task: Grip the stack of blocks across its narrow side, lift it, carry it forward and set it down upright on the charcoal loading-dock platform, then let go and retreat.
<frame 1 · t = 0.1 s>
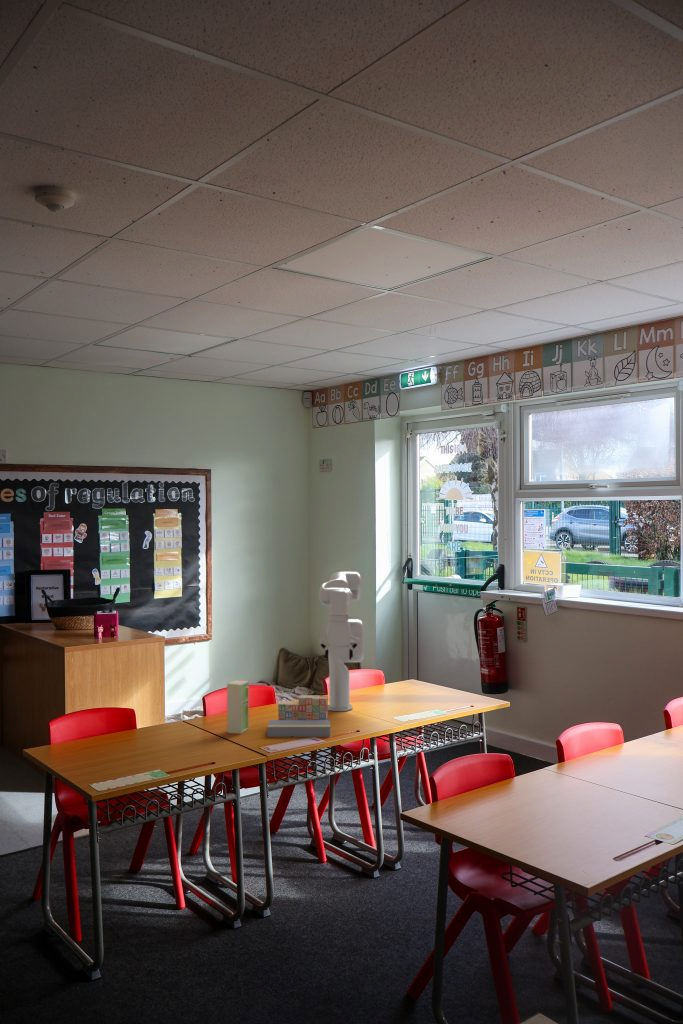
hand: (338, 659, 362), 31 cm above the table, tool pointing down, fingers open, 9 cm apart
stack of blocks: (303, 724, 378), on the table
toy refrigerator: (238, 731, 365), on the table
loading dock: (299, 732, 362), on the table
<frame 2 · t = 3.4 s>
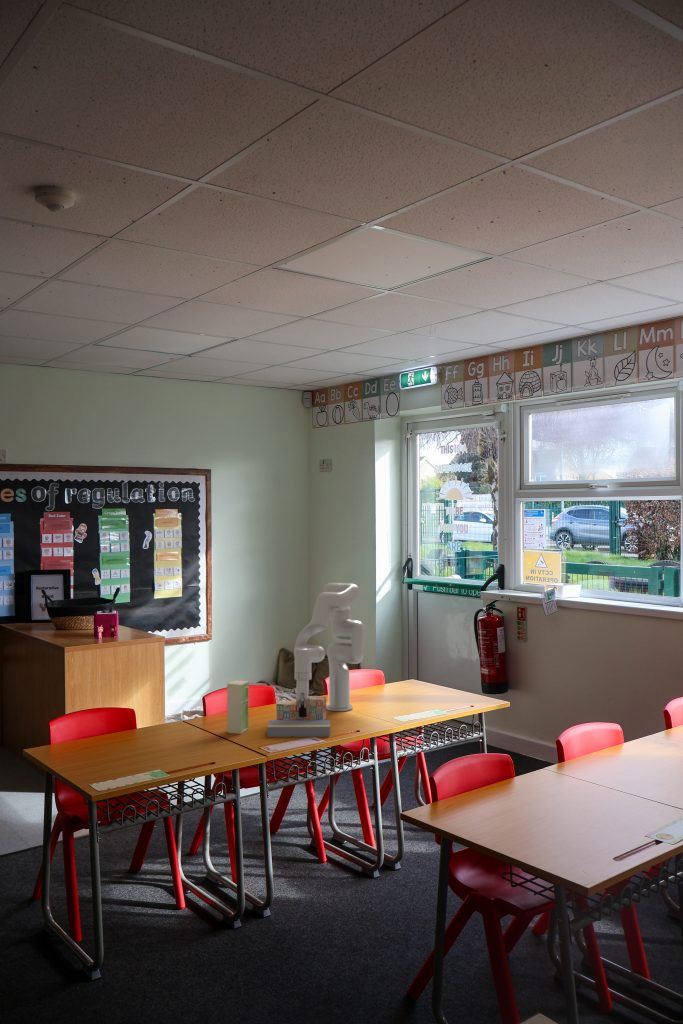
hand: (302, 714, 378), 4 cm above the table, tool pointing down, fingers open, 9 cm apart
stack of blocks: (301, 725, 377), on the table, touching gripper
everything else where it was.
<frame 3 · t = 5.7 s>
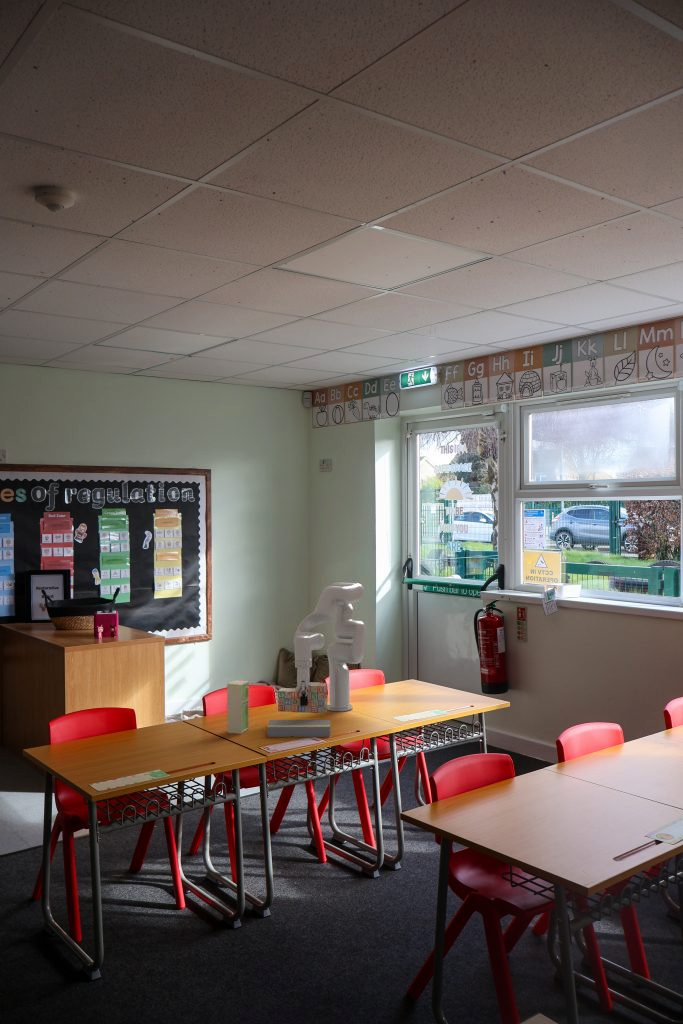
hand: (304, 702, 379), 9 cm above the table, tool pointing down, fingers closed on stack of blocks, 7 cm apart
stack of blocks: (303, 711, 379), point 5 cm above the table, touching gripper
everything else where it was.
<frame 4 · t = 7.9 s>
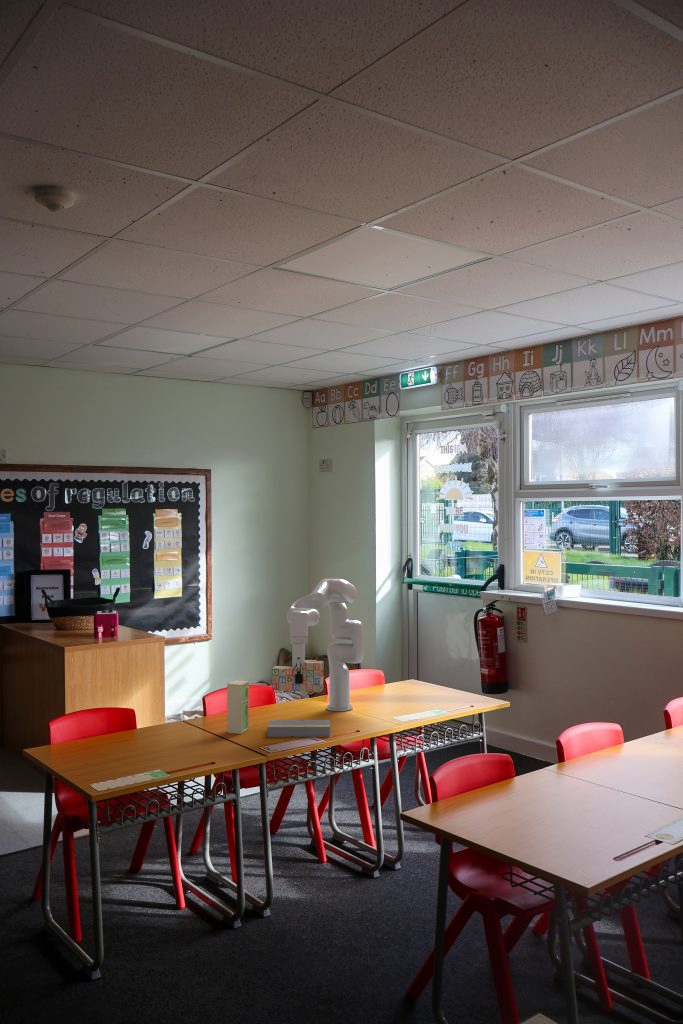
hand: (299, 681, 362), 22 cm above the table, tool pointing down, fingers closed on stack of blocks, 7 cm apart
stack of blocks: (297, 690, 362), point 18 cm above the table, touching gripper
everything else where it was.
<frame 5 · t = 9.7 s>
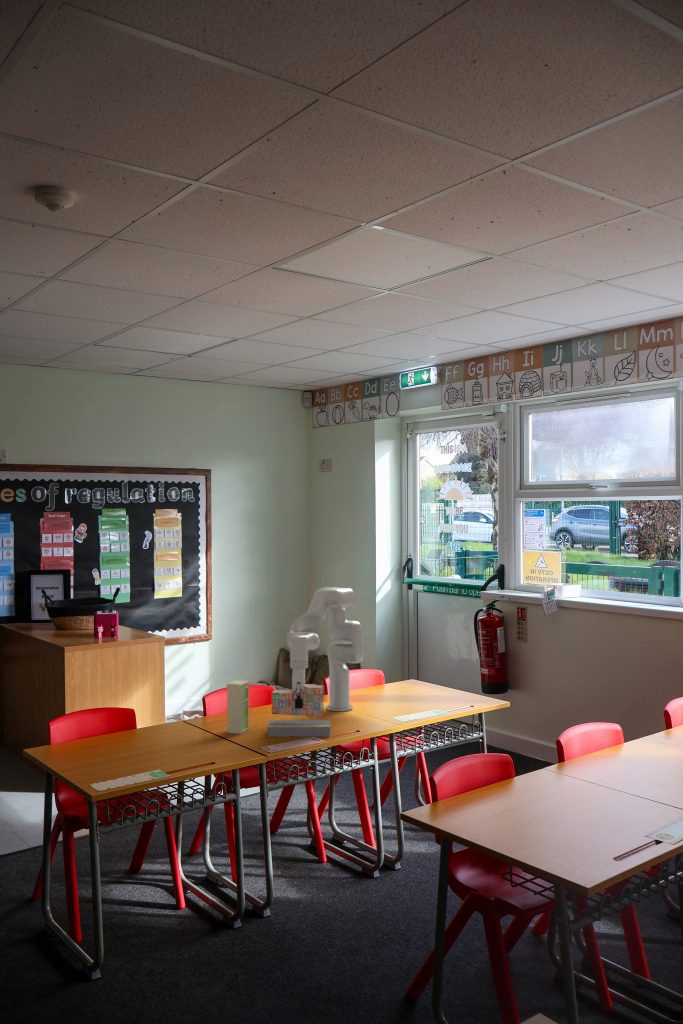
hand: (299, 705, 362), 11 cm above the table, tool pointing down, fingers closed on stack of blocks, 7 cm apart
stack of blocks: (297, 714, 362), point 8 cm above the table, touching gripper
everything else where it was.
when the fingers open (9 cm above the table, at t = 11.3 s): stack of blocks stays where it is, resting on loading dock.
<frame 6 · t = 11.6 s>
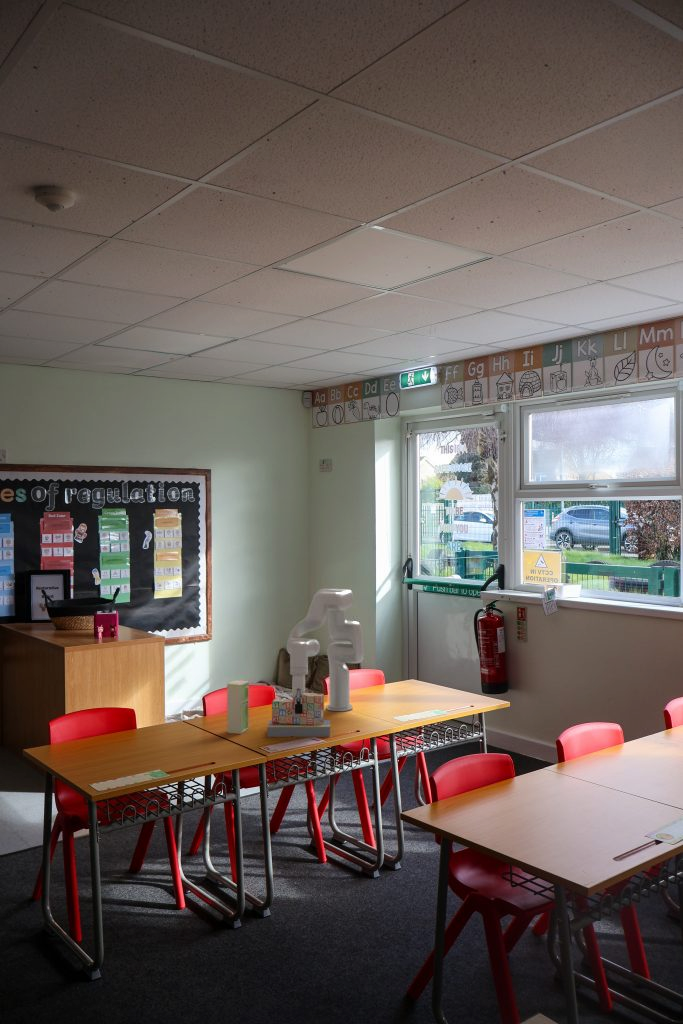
hand: (299, 711, 362), 9 cm above the table, tool pointing down, fingers open, 9 cm apart
stack of blocks: (297, 723, 362), point 4 cm above the table, touching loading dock
everything else where it was.
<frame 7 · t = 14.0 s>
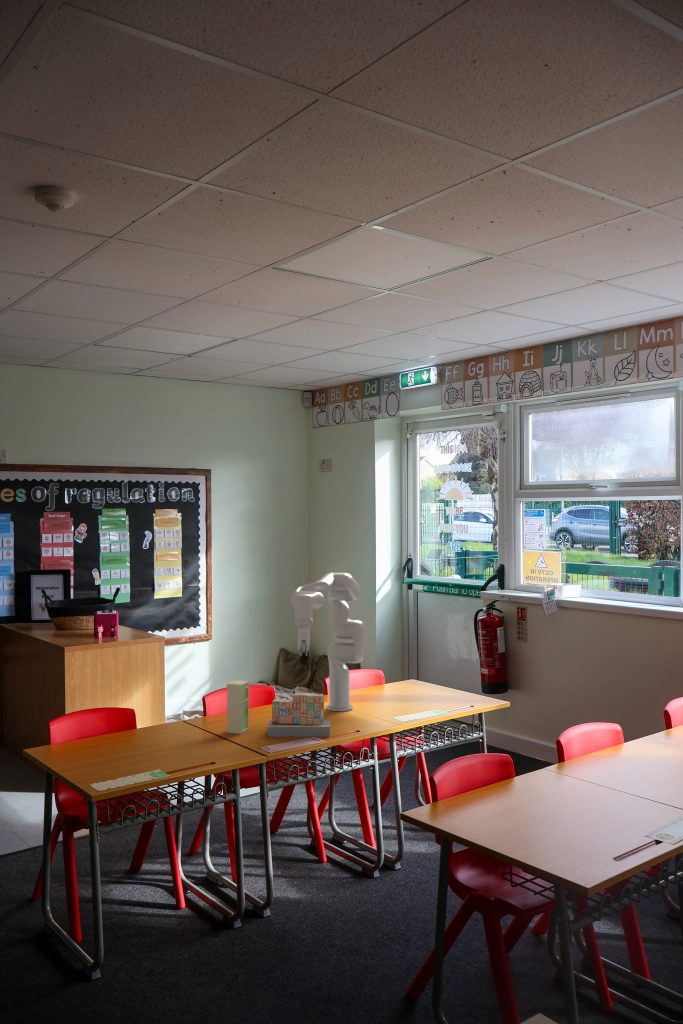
hand: (304, 662, 366), 29 cm above the table, tool pointing down, fingers open, 9 cm apart
nothing on the table moved.
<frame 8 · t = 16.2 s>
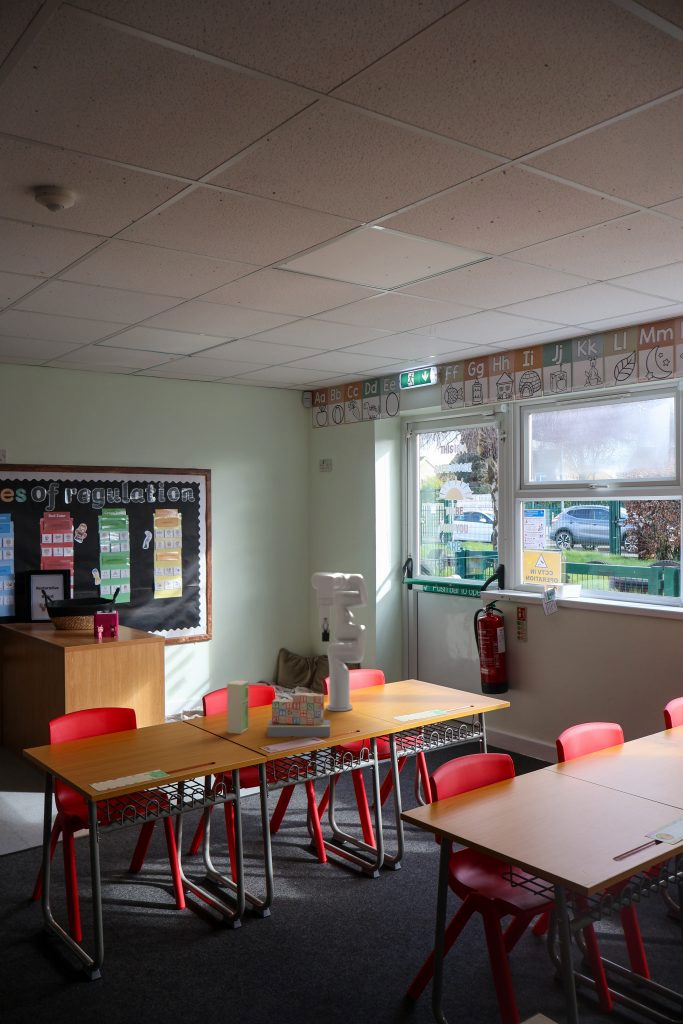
hand: (325, 639, 383), 36 cm above the table, tool pointing down, fingers open, 9 cm apart
nothing on the table moved.
at the end: stack of blocks inside the target area (0.6 cm from its centre), point 4.0 cm above the table; stack of blocks tilted 3°; the gripper is holding nothing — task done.
